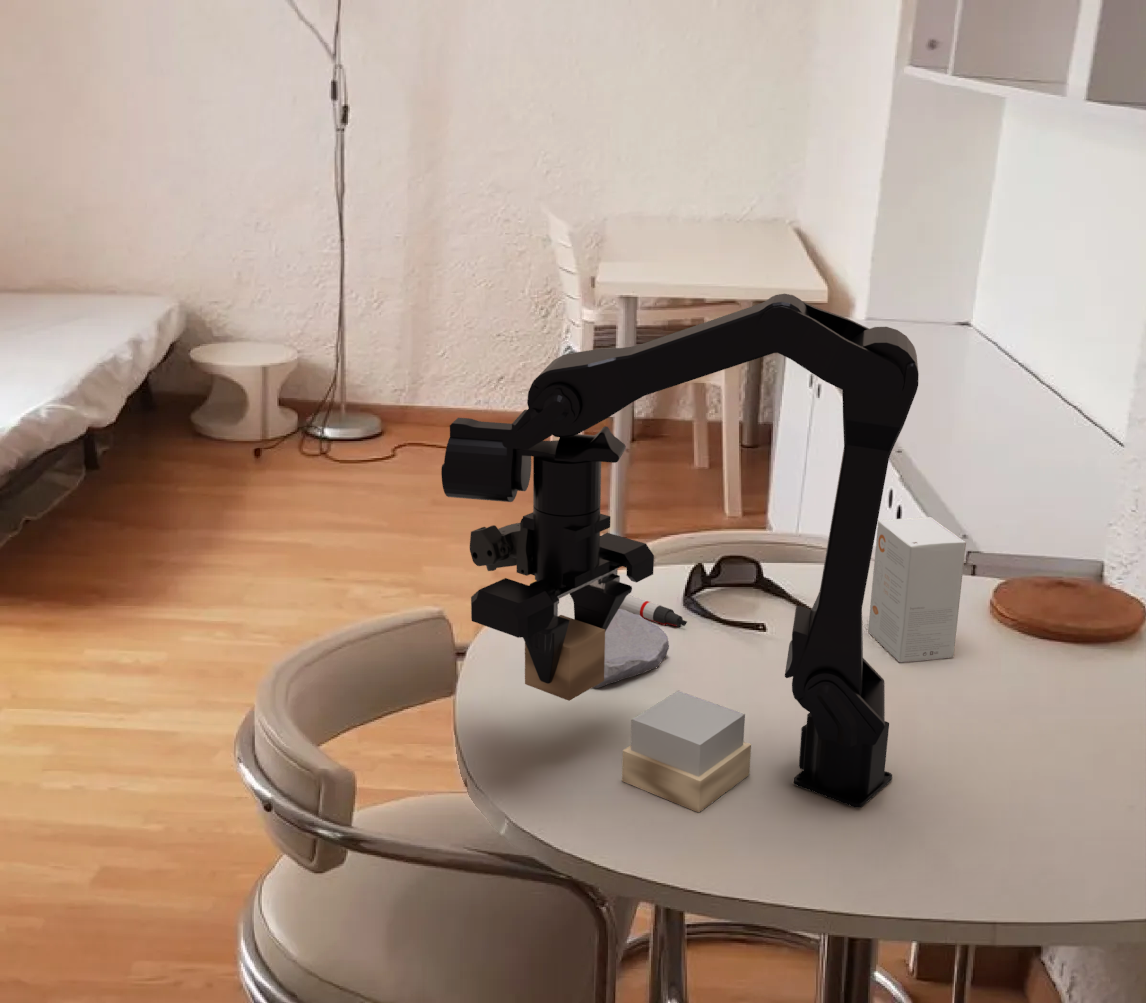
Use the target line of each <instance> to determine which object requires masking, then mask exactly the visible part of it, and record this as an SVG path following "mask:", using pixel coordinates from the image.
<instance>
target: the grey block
mask: <svg viewBox="0 0 1146 1003" xmlns="http://www.w3.org/2000/svg"><path fill="white" fill-rule="evenodd" d="M745 721H746V713H744V712H740V711H738V710H734V709H732V708H729V707H726V706H724V705H720V704H719V703H715V702H712V701H710V700H706V699H703V698H702V697H698V696H695V695H692V694H689V693H687V692H683V691H681V690H676V691H675V692H673V693H671V694H669V695H668V696H666V697H665V698H664V699H661V700H660V701H659V702H656V703H655V704H654V705H652V706H650V707H649V708H647V709H646V710H644V711H642V712H641V713H640V714H638V715H636V716H635V717H633V718H631V728H630V729H631V730H630V733H631V736H630V746H631V750H632V751H634V752H637V753H639V754H642V755H644V756H647V757H649V758H652V759H655V760H657V761H660V762H662V763H665V764H667V765H670V766H672V767H675V768H677V769H680V770H683V771H685V772H688V773H690V774H693V775H695V776H698V777H699V776H701V775H702V774H703V773H705V772H706V771H708V770H709V769H710V768H712V767H713V766H715V765H716V764H717V763H719V762H720V761H721V760H723V759H724V758H726V757H727V756H728V755H730V754H731V753H733V752H734V751H735V750H737V749H738V748H740V747H741V746H742V745H743V742H745V741H744V740H745V738H744V737H745Z"/></svg>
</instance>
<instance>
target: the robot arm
mask: <svg viewBox="0 0 1146 1003" xmlns="http://www.w3.org/2000/svg"><path fill="white" fill-rule="evenodd" d="M773 354H779V355H782V356H783V357H785V358H787V359H789V360H791V361H792V362H794V363H796V364H797V365H799V366H801V368H803V369H805V370H807V371H808V372H809V373H811V374H812V375H814V376H816V377H817V378H818V379H820V380H822V381H824V382H825V383H828V384H830V385H831V386H834V387H836V388H838V389H841V390H842V393H841V394H842V424H843V426H842V427H843V428H842V429H843V451H842V457H841V462H840V468H839V474H838V481H837V486H836V492H835V498H834V503H833V509H832V510H833V511H832V516H831V521H830V522H831V523H830V528H829V532H828V533H829V534H828V540H827V546H826V551H825V552H826V553H825V558H824V563H823V570H822V574H821V582H820V589H819V592H818V594H817V596H816V598H815V601H814V603H813V606H812V607H811V609H810V608H807V607H804V606H801V605H796V606H795V612H794V618H793V624H792V631H791V640H790V642H789V644H788V650H787V658H786V663H785V664H786V665H785V671H784V672H785V673H784V677H785V678H786V679H790V678H792V681H791V692H792V696H793V698H794V700H796V701H797V702H798V704H799V705H800V706H801V708H803V709H804V710H806V711H807V712H808V713H807V716H806V724H804V726H802V727H801V729H800V732H801V733H800V744H799V756H798V757H799V758H798V768H799V769H800V770H802V771H800V772H799V773H798V774H797V775H795V776H794V777H793V785H795V786H797V787H799V788H803V789H805V790H807V791H810V792H813V793H815V794H817V795H820V796H823V797H826V798H829V799H831V800H833V801H836V802H839V803H842V804H844V805H846V806H850V807H852V808H856V809H858V808H859V809H860V808H862V807H864V806H865V804H867V803H868V802H869V801H870V800H872V798H874V797H875V796H876V795H877V794H878V793H880V791H881V790H882V789H884V787H886V786H888V784H889V783H890V782H891V781H892V780H893V774H892V773H891V772H889V771H886V761H887V750H888V740H889V730H890V722H888V721H887V720H885V715H886V713H885V712H886V711H885V709H886V708H885V707H886V706H885V693H886V692H885V684H886V683H885V680H884V678H883V677H882V676H881V675H880V674H879V673H878V671H876V670H875V668H874V667H872V665H871V664H870V663H869V662H868V661H867V660H866V659H865V657H864V651H863V650H864V645H863V644H864V643H863V641H864V640H863V637H864V636H863V635H864V634H863V631H864V630H863V605H864V601H865V594H866V587H867V584H868V583H867V582H868V577H869V570H870V564H871V559H872V554H873V548H874V544H875V540H876V539H875V536H876V534H877V529H878V521H879V517H880V516H879V515H880V511H881V510H880V509H881V506H882V499H883V494H884V486H885V483H886V482H885V481H886V476H887V472H888V466H889V461H890V457H891V454H892V451H893V449H894V447H895V445H896V442H897V440H898V438H899V437H900V434H901V432H902V430H903V428H904V425H905V423H906V420H907V418H908V414H909V412H910V409H911V407H912V405H913V402H914V399H915V397H916V394H917V391H918V387H919V377H920V376H919V374H920V373H919V365H918V364H919V363H918V357H917V356H918V355H917V352H916V348H915V345H914V344H913V343H912V342H911V340H910V339H909V337H908V336H907V335H905V334H904V333H902V332H901V331H900V330H898V329H895V328H893V327H889V326H874V327H873V326H872V327H871V328H868V327H867V326H864V325H862V324H860V323H859V322H856V321H854V320H852V319H849V318H848V317H846V316H842V315H839V314H836V313H833V312H830V311H827V310H824V309H821V308H818V307H816V306H814V305H812V304H809V303H807V302H805V301H803V300H801V299H800V298H799V297H797V296H795V295H793V294H790V293H789V294H788V293H778V294H775V295H773V296H771V297H769V298H768V299H766V300H765V301H763V302H761V303H758V304H755V305H751V306H749V307H746V308H743V309H740V310H737V311H735V312H731V313H728V314H726V315H722V316H720V317H717V318H713V319H711V320H708V321H706V322H705V321H704V322H702V323H700V324H697V325H693V326H691V327H688V328H684V329H682V330H678V331H675V332H674V333H670V334H667V335H665V336H664V335H663V336H661V337H659V338H655V339H653V340H649V341H647V342H644V343H640V344H637V345H633V346H626V347H610V348H609V347H608V348H607V347H606V348H596V349H590V350H583V351H576V352H571V353H566V354H562V355H561V356H559V357H557V358H555V359H553V361H552V362H551V363H549V364H548V365H547V366H546V368H544V369H543V371H542V372H541V373H539V374H538V376H537V377H535V379H534V380H533V381H532V383H531V385H530V388H529V390H528V393H527V402H526V404H527V409H524V410H523V411H522V412H521V413H520V414H519V415H518V416H517V417H516V419H515V420H514V421H513V422H512V423H507V422H493V421H481V420H476V419H473V418H469V417H468V418H467V417H457V418H456V419H455V420H454V421H453V422H451V424H449V437H448V441H447V444H446V448H445V453H444V460H443V461H444V462H443V464H441V467H440V468H441V469H440V470H441V483H442V489H443V492H444V495H445V497H448V498H455V499H465V500H466V499H469V500H481V501H482V500H483V501H490V502H491V501H493V502H502V503H503V502H505V503H513V502H514V501H515V499H516V497H517V494H518V492H526V491H527V490H528V488H529V485H530V482H531V473H532V469H533V473H532V474H533V477H532V478H533V483H532V485H533V487H532V490H533V491H532V494H533V495H532V498H533V501H532V505H533V506H532V508H533V509H532V510H533V511H532V512H530V513H527V514H525V515H523V516H522V518H521V520H520V522H516V523H511V524H507V525H505V526H502V527H497V525H490V526H488V527H486V526H481V527H479V528H476V529H474V530H472V531H470V536H469V537H470V539H469V540H470V541H469V552H470V556H471V560H472V563H473V564H474V565H475V566H476V567H485V566H486V569H487V572H493V571H494V572H495V571H496V570H497V569H498V568H499V569H501V568H507V567H515V566H516V574H520V575H523V576H527V577H528V576H530V575H531V576H534V580H535V581H533V582H531V583H529V585H528V584H526V583H522V582H519V581H516V580H513V579H510V578H506V577H504V578H502V579H500V580H497V581H495V582H493V583H491V584H489V585H487V586H484V587H483V588H482V587H481V588H479V589H478V590H477V591H476V592H475V593H474V594H473V595H472V596H470V612H471V613H470V614H471V616H470V618H471V621H472V622H473V623H476V624H479V625H482V626H485V627H487V628H490V629H493V630H496V631H498V632H501V633H504V634H507V635H510V636H513V637H515V638H518V639H519V638H520V639H521V638H522V639H523V641H524V644H525V643H526V646H527V648H528V651H529V653H530V656H531V659H532V661H533V664H534V666H535V669H536V672H537V674H538V677H539V679H540V681H542V682H544V683H547V684H549V683H551V682H552V680H553V677H554V675H555V672H556V669H557V665H558V661H559V658H560V654H561V650H562V647H563V643H564V639H565V636H566V632H567V628H568V625H569V620H568V619H565V618H562V617H559V611H558V610H559V608H558V606H559V604H560V599H561V598H563V597H565V596H568V595H569V596H570V597H571V599H572V601H573V602H572V603H573V611H574V612H573V613H574V617H573V619H575V620H578V621H581V622H584V623H587V624H590V625H593V626H596V627H599V628H602V629H605V632H606V630H607V628H608V626H609V624H610V623H611V621H612V619H613V618H614V616H615V614H616V613H617V611H618V609H619V608H620V606H621V604H622V603H623V601H624V599H625V598H626V596H627V595H631V593H632V591H633V587H632V585H629V584H626V583H625V582H624V583H623V582H621V581H620V580H621V576H620V575H619V574H618V571H619V570H618V569H619V568H621V567H623V568H626V577H627V578H628V579H629V580H630V581H631V582H634V583H638V582H639V583H640V581H642V580H644V579H646V578H647V579H648V578H649V577H651V576H653V575H654V566H655V564H654V562H655V560H654V559H655V558H654V557H655V555H654V554H653V552H652V551H651V549H650V548H649V546H648V545H647V543H645V542H641V541H637V540H634V539H632V538H628V537H627V538H626V537H624V536H621V535H618V534H613V533H610V532H606V533H603V534H601V532H604V531H605V530H608V529H610V528H611V516H610V515H606V514H603V513H601V500H602V499H601V498H602V496H601V492H602V489H601V488H602V487H601V486H602V463H609V464H610V463H613V464H615V463H618V462H619V460H620V459H621V457H622V455H624V452H625V451H626V445H625V443H624V442H622V441H621V440H620V439H619V438H618V437H617V436H615V435H614V434H613V433H612V432H611V430H610V427H609V426H607V425H606V426H602V428H601V430H600V431H598V432H597V433H596V434H594V435H592V434H581V433H583V432H584V431H586V430H588V429H590V428H592V427H593V426H595V425H597V424H599V423H601V422H604V421H605V420H607V419H609V418H610V417H612V416H614V415H615V414H616V413H618V412H620V411H622V410H623V409H624V408H626V407H627V406H629V405H631V404H632V403H634V402H636V401H638V400H640V399H642V398H643V397H645V396H648V395H651V394H654V393H657V392H660V391H664V390H667V389H669V388H670V389H671V388H673V387H674V386H675V387H676V386H678V385H682V384H685V383H688V382H690V381H693V380H697V379H699V378H703V377H706V376H709V375H711V374H715V373H718V372H721V371H725V370H727V369H730V368H733V367H737V366H739V365H742V364H746V363H748V362H749V363H750V362H751V361H755V360H757V359H760V358H764V357H766V356H770V355H773ZM551 436H553V437H555V438H559V439H557V440H546V439H548V438H549V437H551ZM532 457H533V460H532ZM532 461H533V462H532ZM532 463H533V464H532ZM532 465H533V468H532Z"/></svg>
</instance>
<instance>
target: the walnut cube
mask: <svg viewBox="0 0 1146 1003" xmlns="http://www.w3.org/2000/svg"><path fill="white" fill-rule="evenodd" d="M558 616H559V617H562V618H565V619H568V620H569V625H568V628H567V632H566V636H565V639H564V643H563V647H562V650H561V654H560V658H559V661H558V665H557V669H556V672H555V675H554V677H553V680H552V682H551V683H549V684H547V683H544V682H542V681H540V679H539V677H538V674H537V672H536V669H535V666H534V664H533V661H532V659H531V656H530V653H529V651H528V648H527V646H526V643H525V642H524V684H525V685H526V686H529V687H532V688H534V689H536V690H539V691H541V692H545V693H547V694H550V695H553V696H555V697H557V698H560V699H563V700H565V701H568V702H569V701H572V700H573V699H575V698H576V697H578V696H580V695H582V694H584V693H586V692H587V691H589V690H592V688H593V687H594V686H596V685H598V684H599V683H601V682H603V681H604V662H605V629H602V628H599V627H596V626H593V625H590V624H587V623H584V622H581V621H578V620H575V619H574V618H573V617H568V616H566V615H563V614H558ZM593 689H594V688H593Z"/></svg>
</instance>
